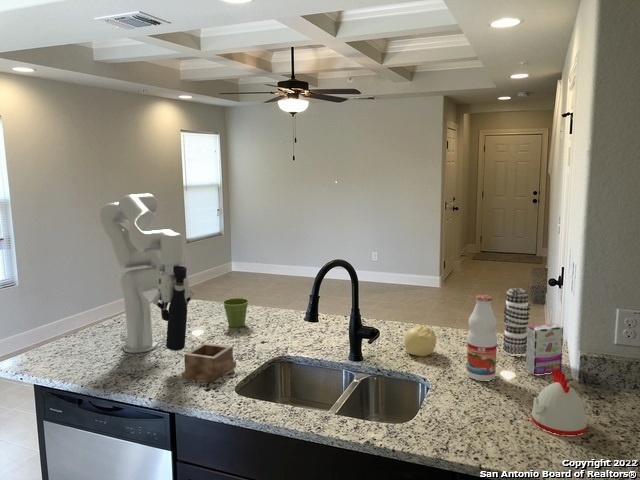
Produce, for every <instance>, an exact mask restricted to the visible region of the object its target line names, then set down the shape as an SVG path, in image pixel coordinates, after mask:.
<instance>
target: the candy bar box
mask: <svg viewBox="0 0 640 480" xmlns="http://www.w3.org/2000/svg"><path fill="white" fill-rule="evenodd" d="M526 331H527V339H526V340H527V343H526V345H527V348H526V349H527V351H526V356H525V371H526V370H528V371H530V372H531V373H533V374H544V373H551V372H552V371H555V369H559V371H562V366H563V365H562V363H563V361H562V360H563V341H564V327H563V326H561V325H559V324H556V323H548V324H546V323H545V324H539V325H532V326H529V325H528V326H527V330H526Z"/></svg>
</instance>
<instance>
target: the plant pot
mask: <svg viewBox="0 0 640 480" xmlns="http://www.w3.org/2000/svg"><path fill="white" fill-rule="evenodd" d="M249 301H250V300H249V299H247V298H242V297H235V298H234V297H233V298H228V299H225V300H222V304H223V307H224V310H225V314H226V319H227V323H228V326H229V327H230V328H240V327H244V326H245V325H246V316H247V309H248V305H249Z"/></svg>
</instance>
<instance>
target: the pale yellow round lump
mask: <svg viewBox="0 0 640 480" xmlns="http://www.w3.org/2000/svg"><path fill="white" fill-rule="evenodd" d="M436 339H437V337H436V334H435V330H433V329H432V328H430V327H427V326H424V325H421V324H420V325H419V326H414V327H412V328H410V329H408V330H407V332H406V333H405V335H404V338H403V345H404V348H405V351H406V352H407V353H408V354H409V355H413V356H418V357H427V355H428V356H429V355H430V354H432V353H434V350H435V348H436V344H437V340H436Z"/></svg>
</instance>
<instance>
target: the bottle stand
mask: <svg viewBox="0 0 640 480" xmlns="http://www.w3.org/2000/svg"><path fill="white" fill-rule="evenodd" d="M233 348H234V347H233V346H229V345H221V344H216V343H215V344H213V343H207V342H203V343H201V344H199V345H198V346H196V347H195V348H193V349H191V350H190V351H187V352H186V353H184V355H183V357H184V371H183V372H181V378H184V379H190V380H196V381H202V382H207V383H208V382H209V383H213V382H215V381H217V379H218V378H220V377H222V376H223V375H224V374H226V373H227V372H228V371H230V370H231V369H233V368H234V367H235V366H236V365H237V361H236V360H234V352H233V350H234V349H233Z"/></svg>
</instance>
